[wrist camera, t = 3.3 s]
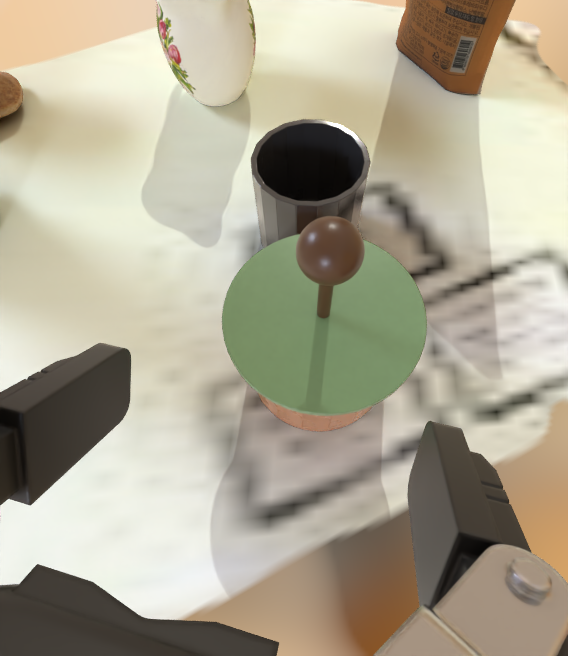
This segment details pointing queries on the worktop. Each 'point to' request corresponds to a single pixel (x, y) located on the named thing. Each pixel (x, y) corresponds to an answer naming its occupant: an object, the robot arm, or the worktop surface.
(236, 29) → the pitcher
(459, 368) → the worktop surface
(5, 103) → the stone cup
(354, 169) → the cup
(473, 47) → the pancake mix bag
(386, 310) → the lid
